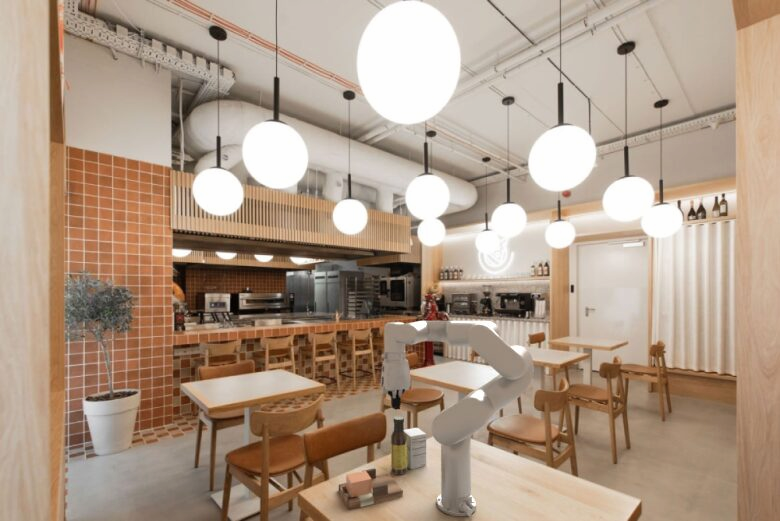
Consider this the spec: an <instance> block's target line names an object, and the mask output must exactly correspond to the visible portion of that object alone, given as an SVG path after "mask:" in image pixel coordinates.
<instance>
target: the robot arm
mask: <svg viewBox="0 0 780 521" xmlns="http://www.w3.org/2000/svg"><path fill="white" fill-rule="evenodd" d="M422 342H438V343H439V342H442V343H445V344H447V345H448V346H451V347H456V348H457V347H463V348H466V347H467V348H471V349H472V350H474V352H475V353H476V354H478V355H479V356H480V358H481V359H482V360H483V361H484V362H486V363H487V364H488V365H489V366H490V367H491V368H492V369H493V370H495V372H497V373H498V375H496V376H495V377H494V378H492V379H490V381H488V382H486V383H485V384H483V385H482V386H480V387H478V388H476V389H474V390H472V391H470V392H469V393H468V394H467V395H466V396H464V397H463V398H462V399H460V400H458V402H456V403H451V404H449V405H447V406H446V407H445V408H443V409H442V410H441V411H440V412H439V413H438V414H437V415H436V416H435V417H434V418H433V420H432V422H431V434H432V436H433V439H434V440H435V441H436V442H437V443H439V444H441V445H440V448H441V449H440V465H441V467H440V469H441V470H440V471H441V473H440V485H441V487H440V488H441V493H440V494H438V496H437V497H436V507H437V508H438V509H439V510H440V511H441V512H443V513H445V514H447V515H450V516H453V517H465V516H468V517H470V516H472V515H473V513H475V511H476V509H477V504H476V503H477V501H476V500H475V498H474V497H473V496H472V485H471V484H472V481H471V480H472V475H471V474H472V472H471V471H472V470H471V468H472V467H471V454H472V453H471V443H472V442H471V440H472V435H474V434H475V433H477V432H479V431H481V430H482V429H483V428H485V426H486V425H487V424H488V423H489V421H491V419H492V418H493V416H495V414H496V413H498V412H499V411H500V410H502V409H504V408H505V407H507V406H508V405H509V404H511V403H513V402H514V401H516V400H517V399H518V398H520V397H521V396H522V395H523V394H524V393H525V392H526V391H527V389H528V388H529V386H530V385H531V383H532V381H533V377H534V372H535V368H534V360H533V356H532V355H531V353H530V351H529V349H527V348H526V347H524V346H522V345H516V344H515V345H510V344H509V343H507V342H506V341H505V340H504V339H503V338H502V337H501V330H500V328H499V326H498V325H497V324H496V323H494V322H493V321H489V320H418V321H413V322H412V321H411V322H406V323H404V322H401V321H390V322H386V323H385V325H384V353H383V354H381V358H382V359H384V360H383V361H382V365H381V375H380V376H381V377H380V382H381V393H382V394H385V395H389V397H390V399H391V401H390V402H391V404H390V405H391V407H392V409H393V410H395V411H397V410H401V404H402V403H401V402H402V401H401V399H402V397H403V394H404V393H405V392H407V391H409V390H410V388H411V384H412V378H411V377H412V376H411V371H410V370H411V369H410V364H409V360H408V359H406V355H407V354H406V345H412V346H413V345H416V344H419V343H422Z"/></svg>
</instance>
